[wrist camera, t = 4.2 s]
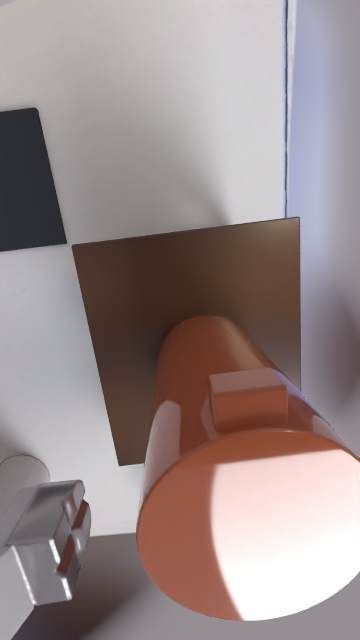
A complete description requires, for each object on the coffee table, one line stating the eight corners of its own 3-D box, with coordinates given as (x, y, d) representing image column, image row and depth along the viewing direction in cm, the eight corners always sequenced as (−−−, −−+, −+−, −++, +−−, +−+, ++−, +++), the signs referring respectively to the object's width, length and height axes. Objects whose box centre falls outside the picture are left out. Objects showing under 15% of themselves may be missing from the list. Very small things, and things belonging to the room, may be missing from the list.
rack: (121, 246, 29) (70, 245, 14) (234, 232, 29) (300, 216, 14) (142, 368, 32) (118, 467, 18) (242, 355, 32) (301, 443, 18)
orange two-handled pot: (148, 307, 15) (107, 413, 5) (252, 294, 15) (398, 377, 5) (166, 429, 17) (161, 666, 7) (258, 418, 17) (373, 640, 7)
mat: (-70, 123, 25) (-74, 120, 25) (37, 109, 25) (35, 107, 25) (-29, 255, 28) (-32, 255, 28) (67, 243, 28) (65, 243, 28)
